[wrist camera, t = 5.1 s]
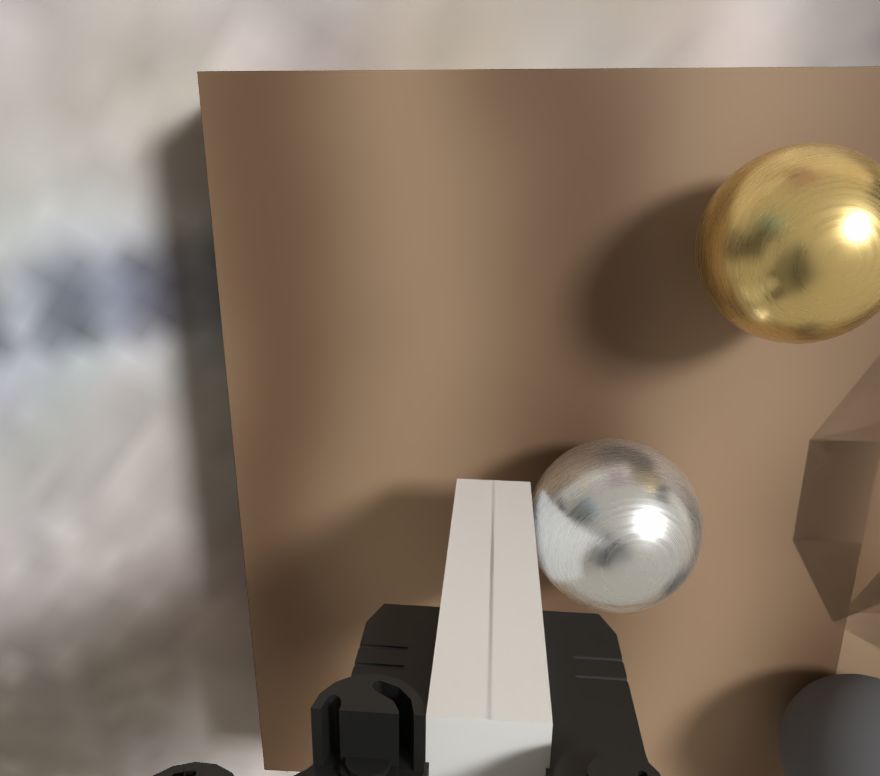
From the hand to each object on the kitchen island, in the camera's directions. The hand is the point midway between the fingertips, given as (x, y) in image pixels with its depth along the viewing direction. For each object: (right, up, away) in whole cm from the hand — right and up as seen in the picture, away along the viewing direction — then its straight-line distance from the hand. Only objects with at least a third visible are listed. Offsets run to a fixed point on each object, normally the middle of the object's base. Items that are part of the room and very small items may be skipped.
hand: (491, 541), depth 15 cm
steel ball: (+2, 0, 0) cm, 2 cm away
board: (+5, +2, +4) cm, 7 cm away
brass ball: (+5, +6, -2) cm, 8 cm away
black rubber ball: (+8, -5, +1) cm, 10 cm away
